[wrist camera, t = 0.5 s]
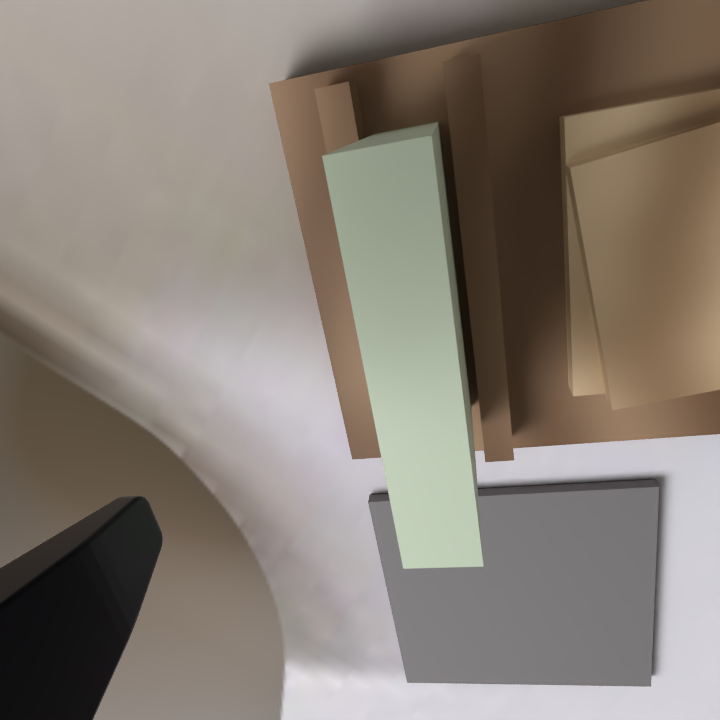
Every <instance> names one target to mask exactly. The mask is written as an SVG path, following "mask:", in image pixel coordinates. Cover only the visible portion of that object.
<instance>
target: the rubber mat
mask: <svg viewBox="0 0 720 720" xmlns="http://www.w3.org/2000/svg"><path fill="white" fill-rule="evenodd" d="M478 500H479V513H480V526H481V539H482V552H483V565H484V567H449V568H412V569H403V565H402V560H401V555H400V550H399V544H398V539H397V534H396V529H395V524H394V519H393V514H392V509H391V504H390V499H389V494H379V495H370V496H369V501H368V503H369V508H370V512H371V517H372V522H373V526H374V531H375V535H376V540H377V545H378V549H379V554H380V559H381V563H382V568H383V572H384V577H385V582H386V586H387V591H388V596H389V600H390V605H391V609H392V614H393V619H394V623H395V628H396V633H397V637H398V642H399V646H400V651H401V656H402V660H403V665H404V670H405V674H406V679H407V683H467V684H529V685H591V686H651V673H652V649H653V625H654V601H655V577H656V554H657V530H658V506H659V485H658V484H657V482H656V480H655V479H650V480H632V481H614V482H596V483H578V484H560V485H542V486H524V487H505V488H487V489H478Z"/></svg>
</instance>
